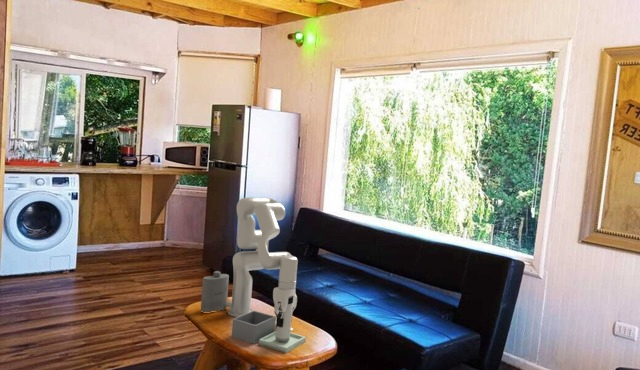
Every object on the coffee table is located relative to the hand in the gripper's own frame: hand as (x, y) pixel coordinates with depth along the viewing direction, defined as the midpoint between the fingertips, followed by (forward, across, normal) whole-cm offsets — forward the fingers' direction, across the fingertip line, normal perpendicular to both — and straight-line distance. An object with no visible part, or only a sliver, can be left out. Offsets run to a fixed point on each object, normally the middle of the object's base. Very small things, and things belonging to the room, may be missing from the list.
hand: (283, 324), depth 220 cm
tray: (+9, 0, 0) cm, 9 cm away
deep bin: (+9, +1, -15) cm, 17 cm away
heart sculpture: (+9, -18, -11) cm, 23 cm away
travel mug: (+7, 0, 0) cm, 7 cm away
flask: (+9, -13, -49) cm, 52 cm away
